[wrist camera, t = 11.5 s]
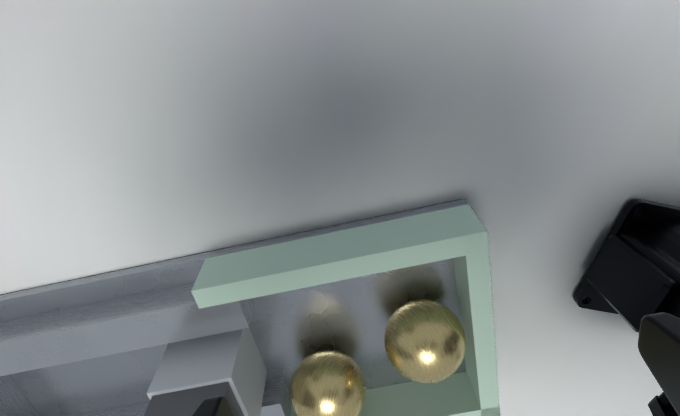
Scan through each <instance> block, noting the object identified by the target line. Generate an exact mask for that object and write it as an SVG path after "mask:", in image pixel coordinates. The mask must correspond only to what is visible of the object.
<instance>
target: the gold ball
mask: <svg viewBox="0 0 680 416" xmlns="http://www.w3.org/2000/svg"><path fill="white" fill-rule="evenodd" d="M384 345H385V350H386V354H387V356H388V359H389V360H390V362H391V364H392V365H393V366H394V368H395V369H396V370H397V371H398V372H399V373H400V374H401V375H403V376H404V377H406V378H407V379H410V380H412V381H414V382H418V383H424V384H431V383H437V382H440V381H443V380H445V379H447V378H448V377H450V376H451V375H453V374H454V373H455V372H456V371H457V369H458V368H459V367H460V365H461V363H462V361H463V359H464V356H465V352H466V336H465V332H464V329H463V326H462V324H461V322H460V320H459V319H458V317H457V316H456V315H455V314H454V313H453V312H452V311H451V310H450V309H449V308H447V307H446V306H445V305H443V304H441V303H439V302H436V301H433V300H427V299H419V300H413V301H410V302H407V303H405V304H403V305H402V306H400V307H399V308H398V309H397V310H396V311H395V312H394V313H393V314H392V315H391V317H390V318H389V320H388V322H387V325H386V328H385V333H384Z"/></svg>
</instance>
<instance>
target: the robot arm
mask: <svg viewBox="0 0 680 416" xmlns="http://www.w3.org/2000/svg"><path fill="white" fill-rule="evenodd" d="M637 208H639V209H638V210H637V211H636V212H634V211H635V210H636V209H637ZM585 297H586V298H585ZM573 298H574V301H575V302H576V303H577V304H578V306H579V307H581V308H586V309H592V310H598V311H604V312H610V313H616V314H619V315H620V316H621V317H622V318H623V319H624V320H625V321H626V322H627V323H628V324H629V325H630V326H631V327H632V329H633V330H635V331H636V332H638V333H639V339H638V348H639V352H640V354H641V356H642V358H643V359H644V361H645V363H646V364H647V366H648V367H649V369H650V371H651V372H652V374H653V375H654V377H655V379H656V380H657V382H658V383H659V385H660V387H661V388H662V390H663V391H664V392H663V393H662V394H661V395H660V396H655V397H654V398H653V399H652V400H651V401H650V402H649V404H648V406H649V408H650V410H651V412H652V414H653V416H680V208H679V207H674V206H669V205H665V204H660V203H655V202H650V201H646V200H641V199H634V200H631V201H630V202H628V203H627V205H626V206H625V207H624V209H623V211H622V213H621V214H620V216H619V218H618V219H617V221H616V223H615V225H614V226H613V228H612V230H611V232H610V233H609V235H608V237H607V239H606V240H605V242H604V244H603V246H602V247H601V249H600V251H599V253H598V254H597V256H596V258H595V259H594V261H593V263H592V265H591V266H590V268H589V270H588V272H587V273H586V275H585V277H584V279H583V280H582V282H581V284H580V286H579V287H578V289H577V291H576V293H575V294H574V297H573ZM584 298H585V299H584ZM191 416H234V414H233V412H232V410H231V408H230V406H229V404H228V402H227V400H226V398H225V397H224V396H215V397H210V398H206V399H205V400H203V401H202V402H201V404H200V405H199V406H198V408H197V409H196V410H195V412H194V413H193V414H192V415H191Z"/></svg>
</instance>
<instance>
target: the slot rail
mask: <svg viewBox="0 0 680 416" xmlns="http://www.w3.org/2000/svg"><path fill="white" fill-rule="evenodd" d="M467 204H468V203H467V201H466V200H465V199H461V200H456V201H451V202H446V203H441V204H436V205H432V206H427V207H422V208H417V209H412V210H408V211H403V212H398V213H393V214H388V215H383V216H379V217H374V218H369V219H364V220H359V221H355V222H350V223H345V224H340V225H335V226H330V227H326V228H321V229H316V230H311V231H306V232H302V233H297V234H292V235H287V236H282V237H277V238H273V239H268V240H263V241H258V242H253V243H249V244H244V245H239V246H234V247H229V248H224V249H220V250H215V251H210V252H205V253H200V254H196V255H191V256H186V257H181V258H176V259H172V260H167V261H162V262H157V263H152V264H147V265H143V266H138V267H133V268H128V269H123V270H119V271H114V272H109V273H104V274H99V275H94V276H90V277H85V278H80V279H75V280H70V281H66V282H61V283H56V284H51V285H46V286H41V287H37V288H32V289H27V290H22V291H17V292H13V293H8V294H3V295H0V416H144V414H145V412H146V409H147V407H148V405H149V402H150V399H149V397H148V396H147V394H146V393H147V391H148V389H149V386H150V384H151V382H152V380H153V377H154V375H155V373H156V370H157V368H158V366H159V364H160V361H161V359H162V357H163V355H164V352H165V350H166V348H167V346H168V343H173V342H178V341H183V340H188V339H194V338H199V337H204V336H209V335H214V334H219V333H224V332H229V331H235V330H240V329H245V328H250V330H251V333H252V335H253V338H254V340H255V343H256V345H257V347H258V350H259V352H260V355H261V357H262V360H263V362H264V365H265V367H266V370H267V373H266V380H265V387H264V394H263V401H262V407H261V414H260V416H291V404H292V402H291V397H290V385H291V380H292V377H293V374H294V372H295V370H296V368H297V367H298V365H299V364H300V363H301V362H302V361H303V360H304V359H305V358H306V357H307V356H309V355H310V354H312V353H315V352H317V351H320V350H336V351H340V352H343V353H345V354H347V355H348V356H350V357H351V358H352V359H353V360H354V361H355V362H356V363H357V364H358V366H359V367H360V369H361V370H362V373H363V375H364V378H365V382H366V390H368V389H374V388H379V387H385V386H390V385H396V384H401V383H407V382H412V380H410V379H407V378H406V377H404V376H403V375H401V374H400V373H399V372H398V371H397V370H396V369H395V368H394V366H393V365H392V364H391V362H390V360H389V359H388V356H387V354H386V350H385V345H384V333H385V328H386V325H387V322H388V320H389V318H390V317H391V315H392V314H393V313H394V312H395V311H396V310H397V309H398V308H399V307H400V306H402V305H403V304H405V303H407V302H410V301H413V300H419V299H427V300H433V301H436V302H439V303H441V304H443V305H445V306H446V307H447V308H449V309H450V310H451V311H452V312H453V313H454V314H455V315H456V316H457V317H458V319H459V320H460V313H459V304H458V295H457V286H456V277H455V269H454V260H453V258H451V259H446V260H441V261H436V262H431V263H426V264H421V265H416V266H411V267H406V268H401V269H396V270H391V271H386V272H381V273H376V274H371V275H366V276H361V277H356V278H351V279H346V280H341V281H336V282H331V283H326V284H321V285H316V286H311V287H306V288H301V289H296V290H291V291H286V292H281V293H276V294H271V295H266V296H261V297H256V298H251V299H245V300H240V301H235V302H230V303H225V304H220V305H215V306H210V307H205V308H200V309H199V307H198V305H197V303H196V301H195V299H194V296H193V294H192V292H191V290H192V288H193V286H194V283H195V281H196V279H197V277H198V274H199V272H200V270H201V268H202V265H203V263H204V261H205V259H206V258H210V257H215V256H220V255H225V254H230V253H235V252H239V251H244V250H249V249H254V248H259V247H264V246H268V245H273V244H278V243H283V242H288V241H293V240H297V239H302V238H307V237H312V236H317V235H322V234H326V233H331V232H336V231H341V230H346V229H351V228H356V227H360V226H365V225H370V224H375V223H380V222H385V221H389V220H394V219H399V218H404V217H409V216H414V215H418V214H423V213H428V212H433V211H438V210H443V209H447V208H452V207H457V206H462V205H467ZM460 322H461V321H460ZM461 372H466V365H465V357H464V359H463V361H462V363H461V365H460V367H459V368H458V369H457V371H456V372H455V373H454V374H456V373H461Z"/></svg>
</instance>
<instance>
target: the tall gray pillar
mask: <svg viewBox="0 0 680 416" xmlns="http://www.w3.org/2000/svg"><path fill="white" fill-rule="evenodd" d="M266 373H267V370H266V367H265V365H264V362H263V360H262V357H261V355H260V352H259V350H258V347H257V345H256V343H255V340H254V338H253V335H252V333H251V330H250V328H245V329H240V330H235V331H229V332H224V333H219V334H214V335H209V336H204V337H199V338H194V339H188V340H183V341H178V342H173V343H168V346H167V348H166V350H165V352H164V355H163V357H162V359H161V361H160V364H159V366H158V368H157V370H156V373H155V375H154V377H153V380H152V382H151V384H150V386H149V389H148V391H147V393H146V394H147V396H148V397H149V399H150V402H149V405H148V407H147V409H146V412H145V414H144V416H191V415H192V414H193V413H194V412H195V410H196V409H197V408H198V406H199V405H200V404H201V402H202V401H203V400H205V399H206V398H210V397H215V396H224V397H225V398H226V400H227V402H228V404H229V406H230V408H231V410H232V412H233V414H234V416H260V414H261V407H262V401H263V394H264V387H265V380H266Z"/></svg>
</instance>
